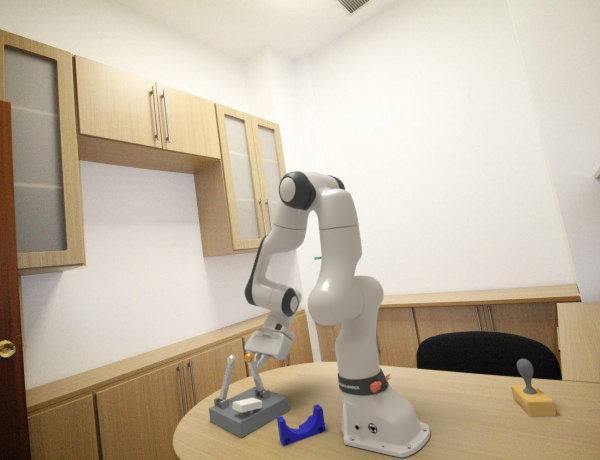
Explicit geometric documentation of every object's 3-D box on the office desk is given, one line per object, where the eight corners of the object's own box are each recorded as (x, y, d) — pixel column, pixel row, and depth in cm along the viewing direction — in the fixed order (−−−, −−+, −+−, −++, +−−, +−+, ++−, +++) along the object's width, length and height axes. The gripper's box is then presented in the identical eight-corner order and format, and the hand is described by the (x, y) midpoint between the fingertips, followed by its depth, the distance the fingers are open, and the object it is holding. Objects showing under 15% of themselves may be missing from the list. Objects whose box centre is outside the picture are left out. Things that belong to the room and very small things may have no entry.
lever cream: (227, 406, 100) (238, 356, 105) (219, 406, 98) (231, 354, 104) (222, 404, 102) (234, 355, 108) (214, 404, 100) (226, 353, 106)
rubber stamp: (513, 398, 86) (503, 353, 87) (536, 397, 85) (527, 352, 86) (530, 417, 77) (519, 366, 78) (557, 416, 75) (545, 365, 77)
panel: (289, 409, 99) (286, 389, 100) (241, 438, 87) (238, 414, 88) (256, 398, 112) (254, 380, 113) (210, 421, 100) (207, 401, 100)
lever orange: (269, 393, 103) (253, 351, 102) (262, 399, 101) (246, 356, 100) (263, 391, 105) (248, 350, 104) (257, 397, 103) (241, 355, 102)
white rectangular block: (262, 407, 93) (262, 400, 94) (241, 412, 89) (242, 405, 89) (252, 404, 97) (252, 397, 97) (232, 408, 92) (232, 401, 93)
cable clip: (319, 424, 88) (316, 402, 89) (326, 431, 84) (322, 408, 85) (278, 438, 84) (275, 415, 85) (283, 447, 80) (279, 422, 81)
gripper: (252, 323, 117) (232, 359, 109) (287, 326, 102) (267, 368, 95) (263, 332, 120) (245, 367, 112) (299, 336, 105) (281, 377, 97)
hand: (255, 368), depth 103 cm, fingers closed, pressing on lever orange
